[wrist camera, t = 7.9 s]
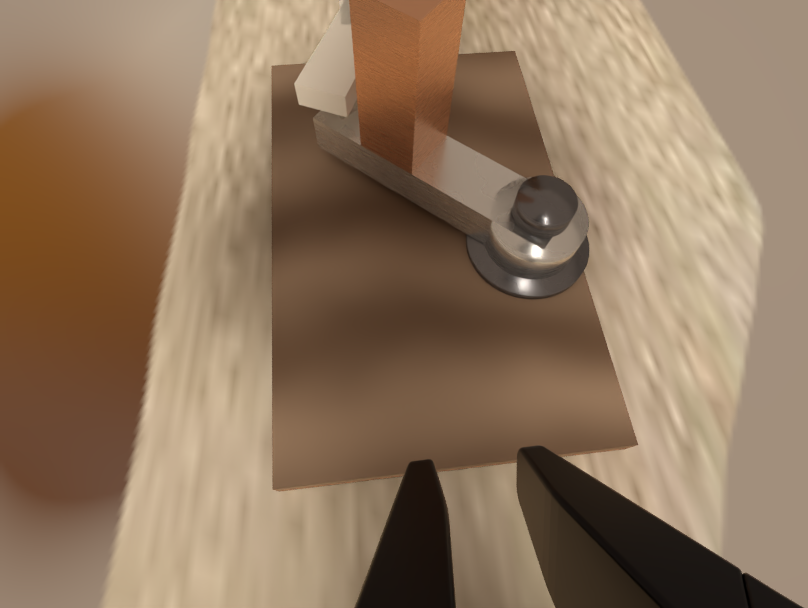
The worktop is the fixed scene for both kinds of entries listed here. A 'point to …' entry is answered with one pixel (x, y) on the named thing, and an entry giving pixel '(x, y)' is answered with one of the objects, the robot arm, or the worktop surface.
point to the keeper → (331, 69)
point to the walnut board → (419, 313)
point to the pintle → (542, 217)
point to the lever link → (432, 134)
